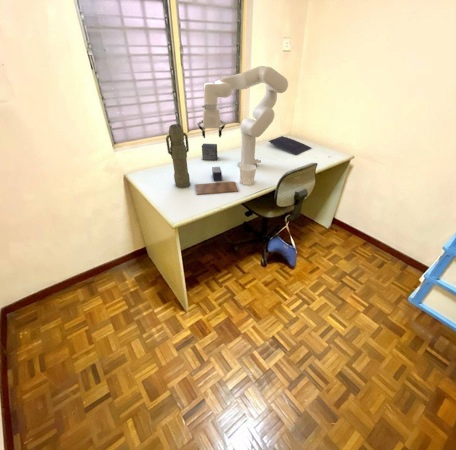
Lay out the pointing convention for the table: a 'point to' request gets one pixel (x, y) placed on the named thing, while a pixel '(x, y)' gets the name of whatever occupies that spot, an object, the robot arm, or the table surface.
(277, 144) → the black flat slab
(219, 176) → the block
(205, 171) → the table surface
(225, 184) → the mat
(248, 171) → the cup
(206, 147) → the small box
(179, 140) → the thermos
